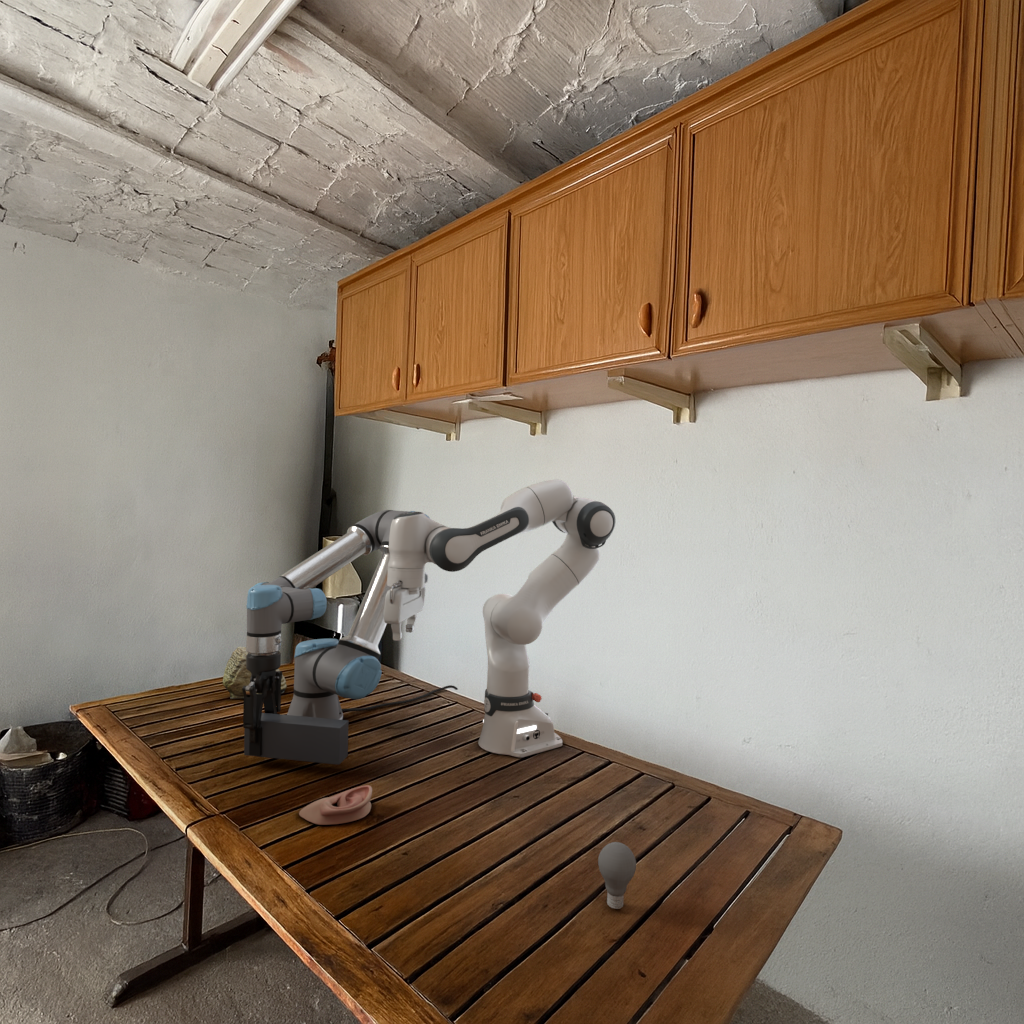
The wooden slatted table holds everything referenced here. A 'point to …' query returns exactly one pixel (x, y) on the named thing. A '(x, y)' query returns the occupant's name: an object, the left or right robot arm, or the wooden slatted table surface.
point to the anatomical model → (339, 807)
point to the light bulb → (616, 871)
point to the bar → (302, 738)
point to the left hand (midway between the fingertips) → (262, 749)
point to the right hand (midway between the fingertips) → (403, 635)
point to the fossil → (240, 674)
